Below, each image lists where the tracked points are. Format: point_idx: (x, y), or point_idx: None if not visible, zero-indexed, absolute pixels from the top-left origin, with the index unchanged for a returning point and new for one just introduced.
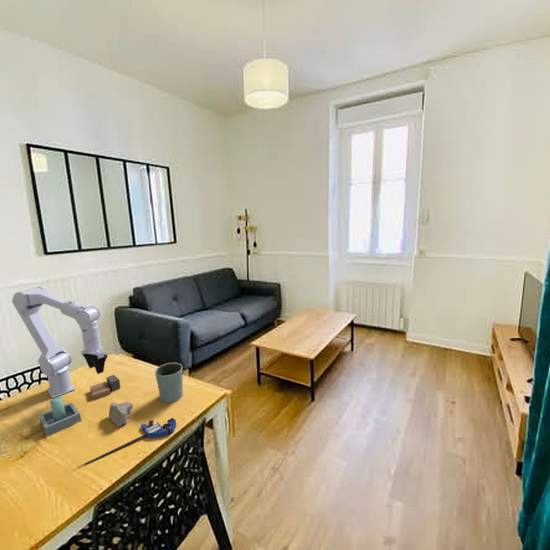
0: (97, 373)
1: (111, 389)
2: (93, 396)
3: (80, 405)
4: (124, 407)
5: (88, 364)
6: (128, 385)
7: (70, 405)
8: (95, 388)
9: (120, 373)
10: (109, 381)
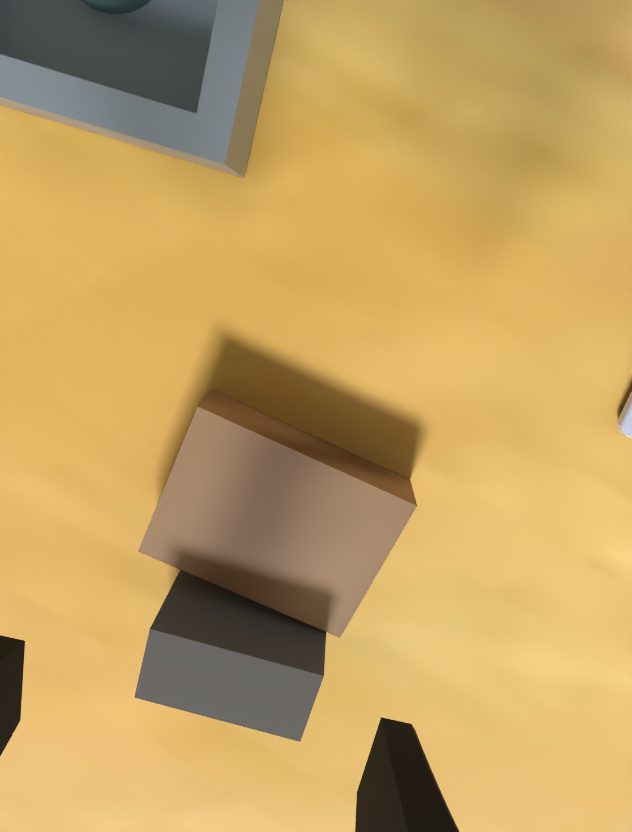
0: (15, 641)
1: None
2: (200, 403)
3: (241, 263)
4: None
5: (400, 796)
6: None
7: (160, 107)
8: (311, 505)
9: None
10: (226, 638)
